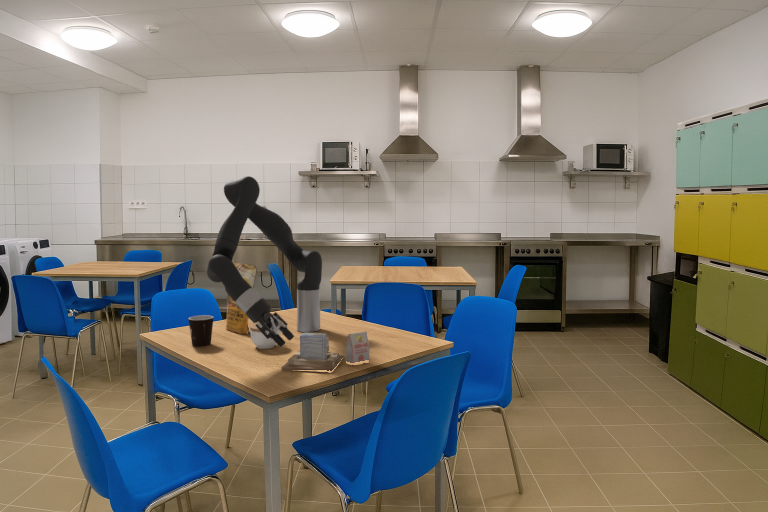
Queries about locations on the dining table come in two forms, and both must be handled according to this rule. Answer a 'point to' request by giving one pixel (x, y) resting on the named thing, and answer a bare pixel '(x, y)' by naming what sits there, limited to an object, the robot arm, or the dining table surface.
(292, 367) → the socket plate
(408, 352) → the dining table surface
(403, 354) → the dining table surface
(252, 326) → the lidded jar
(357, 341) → the white paper bag
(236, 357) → the dining table surface
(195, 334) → the coffee mug
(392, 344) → the dining table surface
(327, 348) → the maple block
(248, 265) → the pancake mix bag
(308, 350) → the medicine box
